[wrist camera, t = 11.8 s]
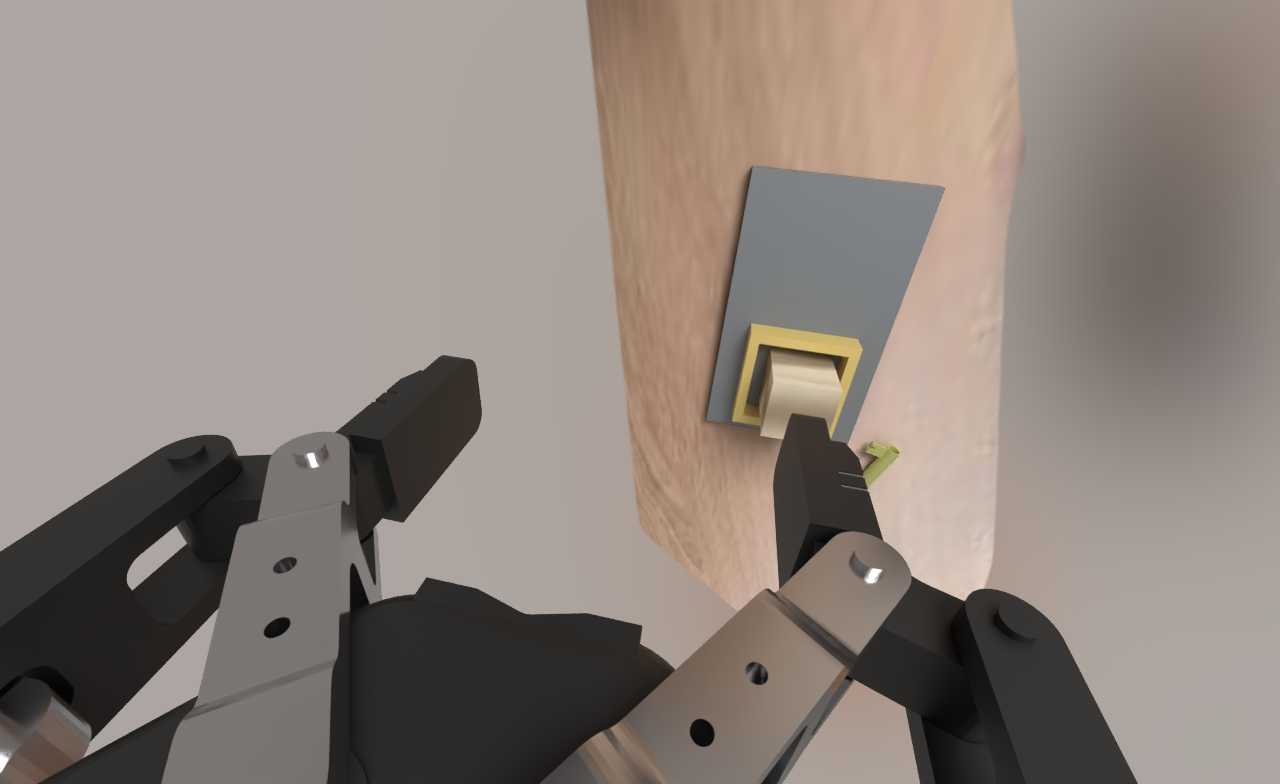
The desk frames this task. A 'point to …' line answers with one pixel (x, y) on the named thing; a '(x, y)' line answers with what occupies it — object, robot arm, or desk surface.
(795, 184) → the puzzle board
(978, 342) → the desk surface
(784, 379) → the beech block
